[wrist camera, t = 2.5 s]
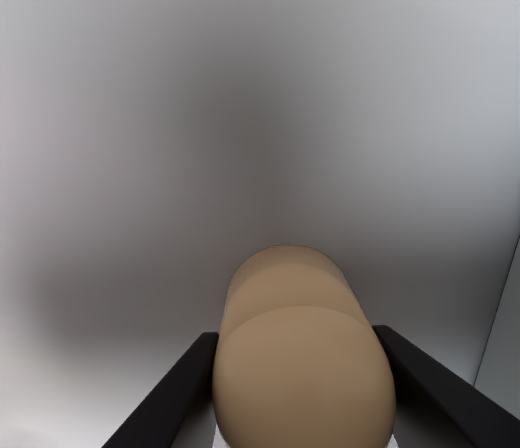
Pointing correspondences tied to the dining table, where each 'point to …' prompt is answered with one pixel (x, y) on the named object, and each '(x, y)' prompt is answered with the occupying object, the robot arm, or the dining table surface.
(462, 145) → the dining table surface
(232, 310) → the egg
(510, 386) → the carton
